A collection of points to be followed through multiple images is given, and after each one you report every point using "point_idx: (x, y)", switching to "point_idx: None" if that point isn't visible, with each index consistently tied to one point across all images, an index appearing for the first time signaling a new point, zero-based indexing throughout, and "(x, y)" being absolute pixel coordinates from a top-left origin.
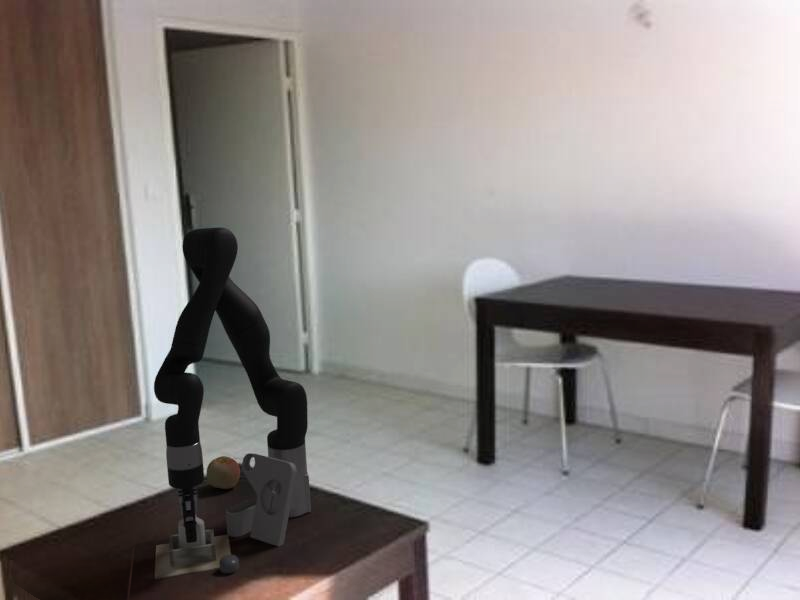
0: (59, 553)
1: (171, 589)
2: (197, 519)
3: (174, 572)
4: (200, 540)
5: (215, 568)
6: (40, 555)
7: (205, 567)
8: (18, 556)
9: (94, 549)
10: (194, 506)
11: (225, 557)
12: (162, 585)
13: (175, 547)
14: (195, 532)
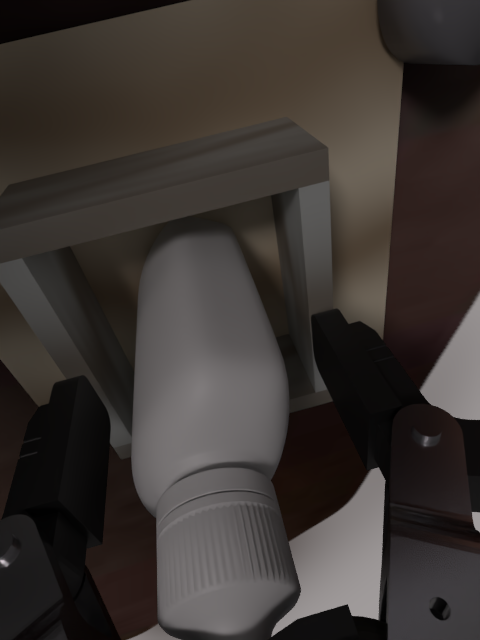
0: (118, 595)
1: (458, 283)
2: (235, 432)
3: (364, 313)
4: (254, 284)
5: (397, 101)
6: (130, 610)
7: (368, 173)
8: (134, 627)
9: (89, 560)
10: (62, 589)
11: (460, 12)
12: (407, 324)
13: (132, 383)
14: (370, 358)
